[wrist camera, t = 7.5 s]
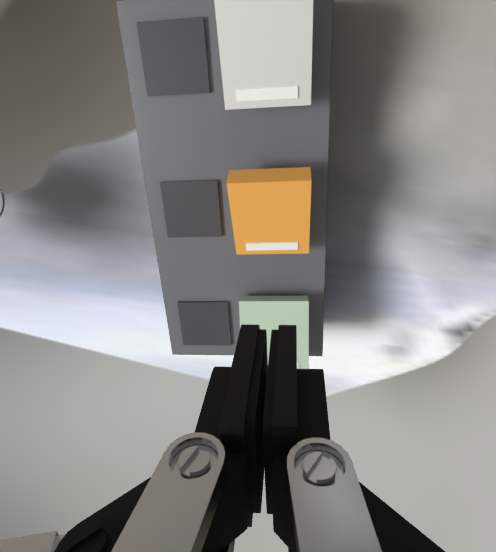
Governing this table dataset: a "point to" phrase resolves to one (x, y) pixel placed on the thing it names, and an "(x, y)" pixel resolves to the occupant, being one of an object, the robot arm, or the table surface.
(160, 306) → the table surface
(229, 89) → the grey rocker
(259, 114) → the power strip
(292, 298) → the green rocker
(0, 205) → the wineglass
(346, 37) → the table surface
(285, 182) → the orange white-striped slab
